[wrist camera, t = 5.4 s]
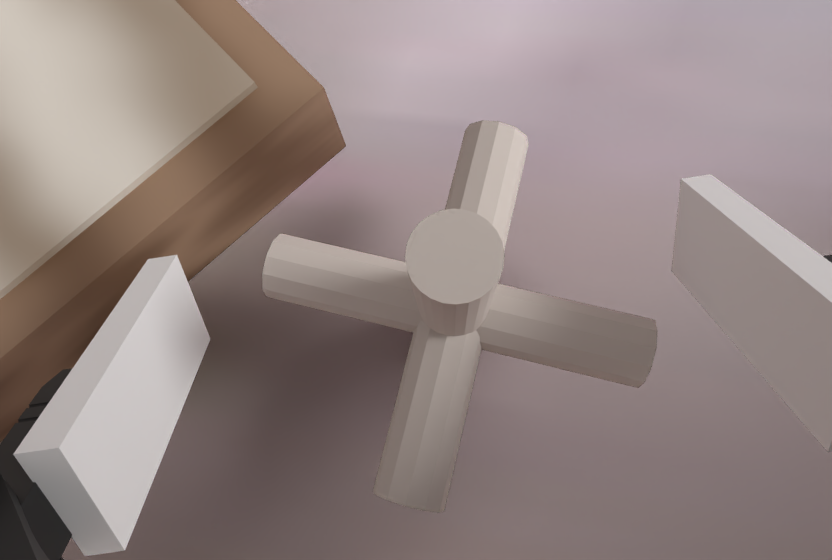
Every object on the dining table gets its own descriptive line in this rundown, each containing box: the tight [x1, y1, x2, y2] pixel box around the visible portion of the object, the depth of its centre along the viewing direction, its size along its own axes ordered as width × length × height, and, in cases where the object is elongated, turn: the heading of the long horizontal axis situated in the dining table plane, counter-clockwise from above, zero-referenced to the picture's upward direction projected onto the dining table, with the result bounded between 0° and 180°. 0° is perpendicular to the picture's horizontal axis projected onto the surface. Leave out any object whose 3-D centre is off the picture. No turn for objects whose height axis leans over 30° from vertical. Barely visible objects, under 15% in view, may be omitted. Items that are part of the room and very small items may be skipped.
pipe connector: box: [262, 121, 657, 513], centre depth 16 cm, size 10×10×10 cm
